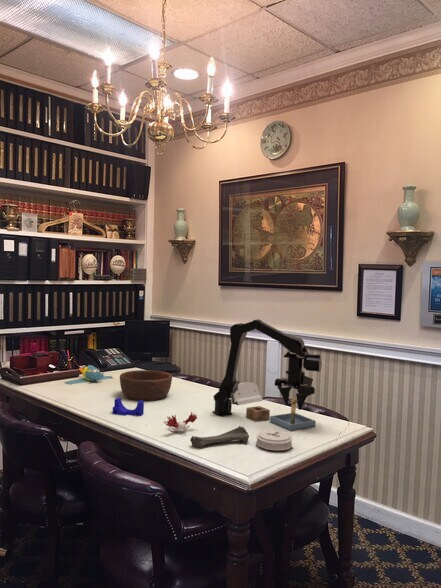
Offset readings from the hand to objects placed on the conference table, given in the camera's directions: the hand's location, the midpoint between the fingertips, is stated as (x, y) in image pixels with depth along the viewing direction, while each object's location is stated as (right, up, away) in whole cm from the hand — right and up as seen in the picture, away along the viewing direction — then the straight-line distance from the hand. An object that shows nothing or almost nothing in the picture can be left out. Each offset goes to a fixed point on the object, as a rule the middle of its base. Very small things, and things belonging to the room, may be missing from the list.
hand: (293, 407), depth 202 cm
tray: (0, -7, 0) cm, 7 cm away
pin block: (-14, -6, +7) cm, 17 cm away
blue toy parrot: (-100, -1, +65) cm, 119 cm away
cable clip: (-68, -5, +5) cm, 69 cm away
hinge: (-18, -6, +35) cm, 40 cm away
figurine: (-46, -6, -14) cm, 48 cm away
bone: (-29, -8, -27) cm, 40 cm away
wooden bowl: (-66, -3, +37) cm, 75 cm away
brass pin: (0, -7, 0) cm, 7 cm away
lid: (-11, -8, -26) cm, 30 cm away
